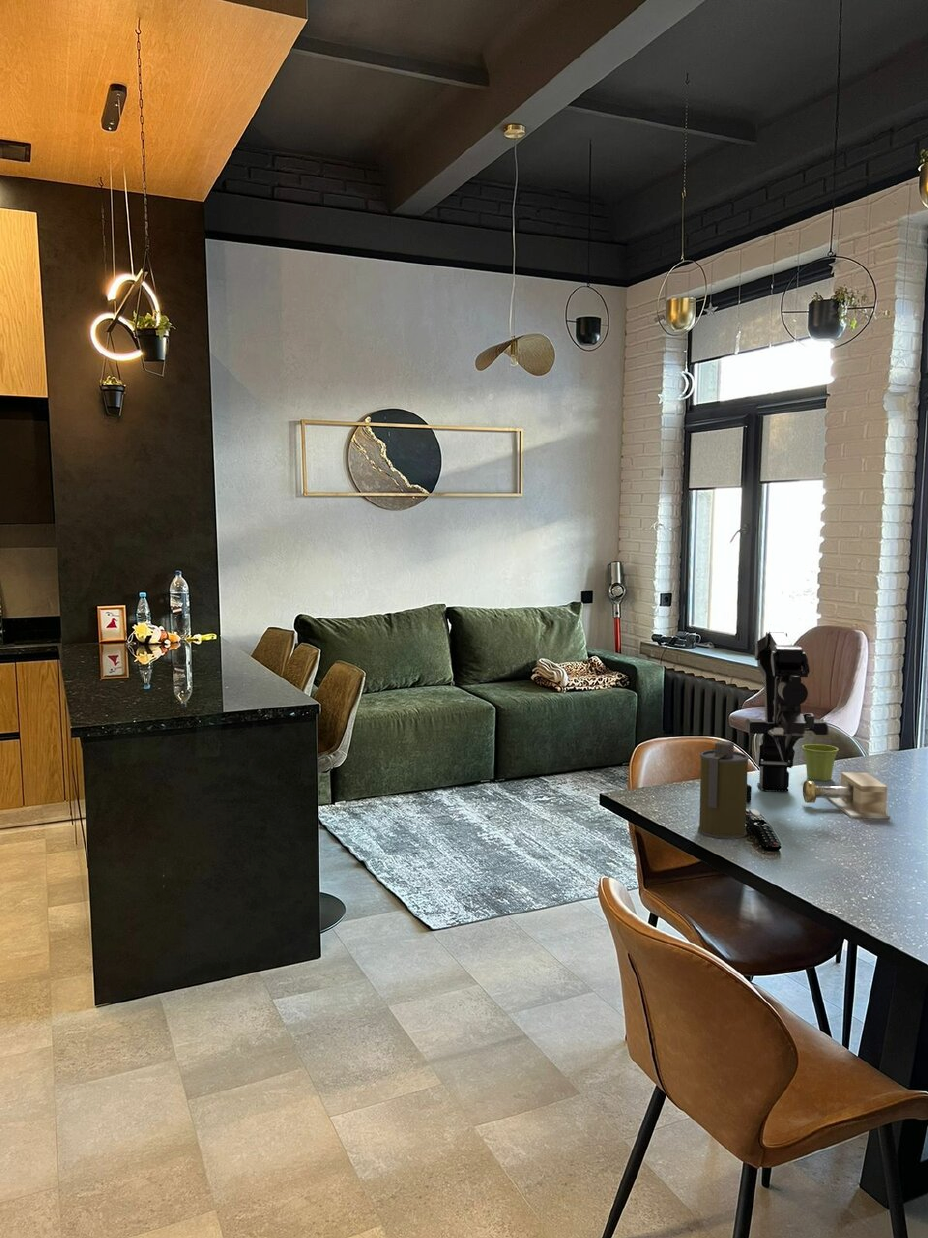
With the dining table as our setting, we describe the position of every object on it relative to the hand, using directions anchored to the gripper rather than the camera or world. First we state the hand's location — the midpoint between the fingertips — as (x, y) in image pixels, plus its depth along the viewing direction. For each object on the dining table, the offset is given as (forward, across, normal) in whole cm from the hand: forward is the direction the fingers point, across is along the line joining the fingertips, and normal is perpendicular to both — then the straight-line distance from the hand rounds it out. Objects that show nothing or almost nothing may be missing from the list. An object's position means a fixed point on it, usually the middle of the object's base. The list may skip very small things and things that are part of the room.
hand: (784, 761), depth 221 cm
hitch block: (+11, +17, 0) cm, 21 cm away
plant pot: (+11, +18, +28) cm, 35 cm away
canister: (+11, -20, -22) cm, 32 cm away
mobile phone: (+12, -10, +8) cm, 18 cm away
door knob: (+10, +13, 0) cm, 17 cm away
